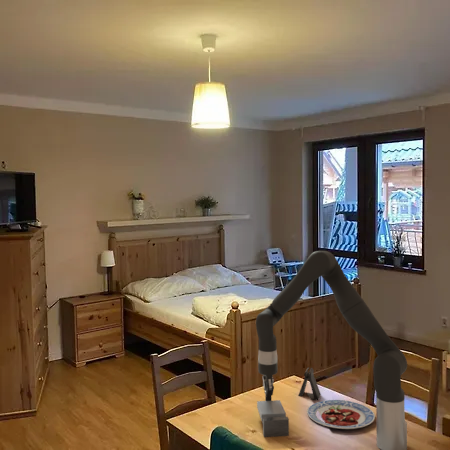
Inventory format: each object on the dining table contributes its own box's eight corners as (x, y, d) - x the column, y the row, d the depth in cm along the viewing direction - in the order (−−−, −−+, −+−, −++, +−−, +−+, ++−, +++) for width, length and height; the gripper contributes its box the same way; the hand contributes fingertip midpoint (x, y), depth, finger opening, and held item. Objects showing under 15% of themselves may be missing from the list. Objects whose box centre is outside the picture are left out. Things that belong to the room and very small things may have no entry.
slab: (280, 406, 195) (279, 400, 195) (285, 419, 183) (285, 413, 183) (257, 407, 194) (257, 401, 194) (261, 421, 182) (261, 414, 182)
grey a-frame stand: (320, 395, 217) (320, 368, 217) (318, 400, 212) (318, 372, 211) (300, 392, 221) (300, 366, 220) (297, 398, 215) (297, 370, 214)
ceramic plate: (378, 436, 180) (378, 428, 179) (306, 431, 185) (305, 423, 185) (371, 406, 205) (371, 399, 205) (308, 403, 210) (308, 396, 210)
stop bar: (287, 435, 181) (287, 416, 181) (288, 438, 179) (288, 419, 179) (263, 436, 181) (262, 417, 180) (264, 439, 178) (263, 420, 178)
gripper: (280, 365, 189) (280, 410, 190) (274, 354, 202) (274, 396, 203) (260, 366, 188) (261, 411, 189) (256, 355, 202) (256, 397, 203)
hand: (268, 403), depth 196 cm, fingers closed
